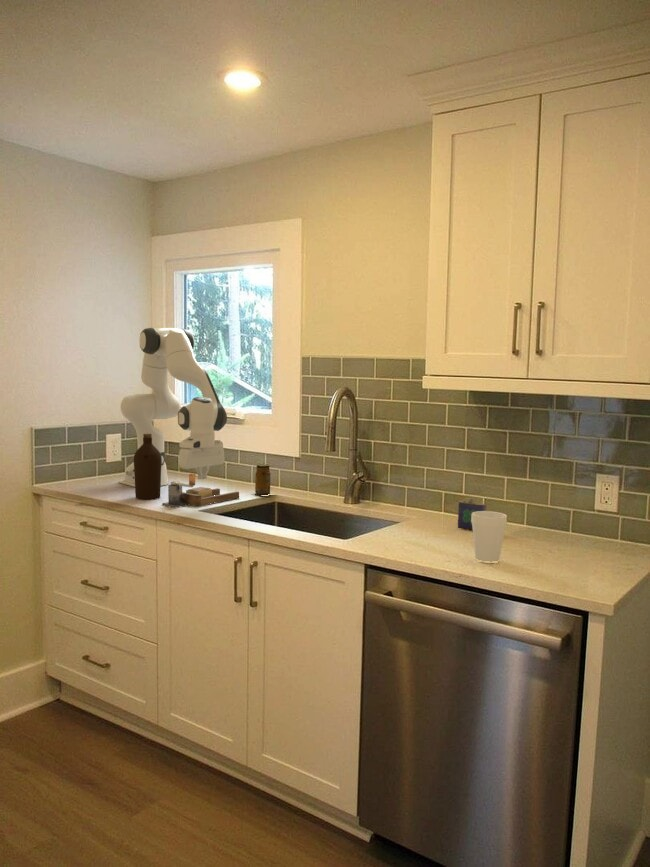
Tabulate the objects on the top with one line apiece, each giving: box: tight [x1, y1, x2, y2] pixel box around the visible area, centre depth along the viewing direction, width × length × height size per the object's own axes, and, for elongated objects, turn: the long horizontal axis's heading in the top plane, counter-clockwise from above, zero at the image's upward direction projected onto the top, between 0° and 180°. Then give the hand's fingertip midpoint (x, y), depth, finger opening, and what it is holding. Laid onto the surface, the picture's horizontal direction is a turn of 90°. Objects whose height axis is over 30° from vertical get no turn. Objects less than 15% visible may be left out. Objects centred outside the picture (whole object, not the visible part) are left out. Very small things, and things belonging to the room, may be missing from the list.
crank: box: [170, 473, 196, 488], centre depth 266 cm, size 12×3×5 cm, turn 53°
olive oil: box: [133, 434, 162, 501], centre depth 282 cm, size 11×11×25 cm
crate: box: [185, 486, 213, 498], centre depth 276 cm, size 6×8×5 cm
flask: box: [457, 497, 487, 531], centre depth 237 cm, size 9×3×11 cm, turn 59°
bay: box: [182, 488, 240, 507], centre depth 280 cm, size 12×22×4 cm, turn 143°
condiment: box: [250, 463, 271, 496], centre depth 293 cm, size 7×8×12 cm
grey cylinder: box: [162, 484, 189, 508], centre depth 269 cm, size 7×7×8 cm
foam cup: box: [471, 510, 508, 562], centre depth 200 cm, size 10×9×13 cm
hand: (202, 478), depth 268 cm, fingers closed
